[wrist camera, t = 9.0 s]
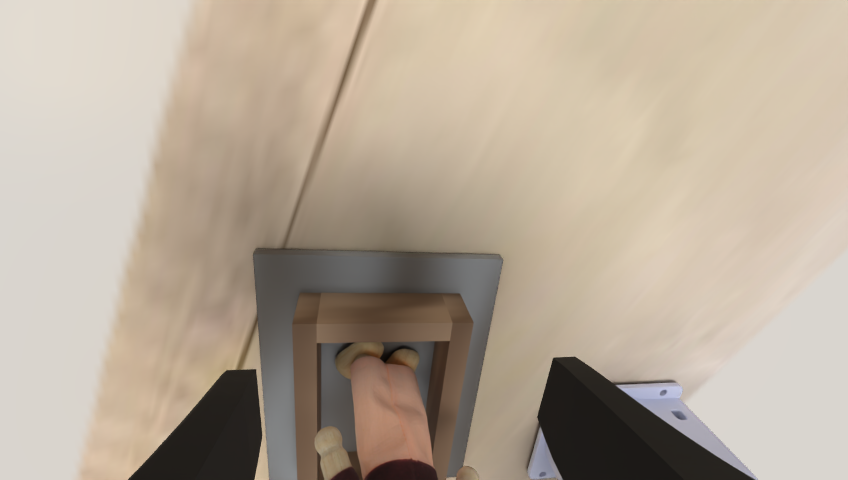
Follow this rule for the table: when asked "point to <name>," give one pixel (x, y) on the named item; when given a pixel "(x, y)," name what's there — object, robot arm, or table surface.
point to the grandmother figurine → (382, 420)
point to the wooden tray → (368, 322)
